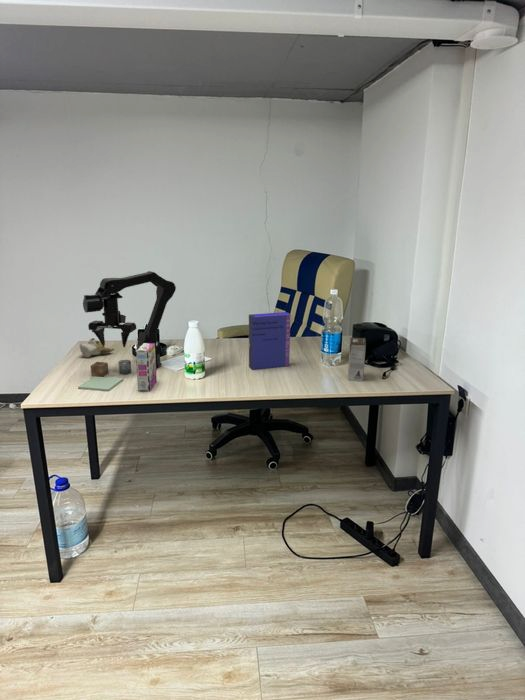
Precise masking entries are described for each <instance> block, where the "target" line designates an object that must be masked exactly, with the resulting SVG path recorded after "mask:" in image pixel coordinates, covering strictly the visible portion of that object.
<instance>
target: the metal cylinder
mask: <svg viewBox="0 0 525 700" xmlns="http://www.w3.org/2000/svg"><path fill="white" fill-rule="evenodd" d="M132 371H133V370H132V363H131V360H130V359H122V360H119V361H118V372H119V375H122V376H123V375H130V374H132Z"/></svg>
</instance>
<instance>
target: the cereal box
mask: <svg viewBox="0 0 525 700" xmlns="http://www.w3.org/2000/svg"><path fill="white" fill-rule="evenodd" d="M290 345H291V314H290V312H287V311H284V312H270V313H269V312H267V313H254V314H251V313H250V314H248V368H249V369H250V370H251V371H257V370H268V369H278V368H287V367H290V354H291V353H290V349H291V348H290Z"/></svg>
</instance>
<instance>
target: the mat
mask: <svg viewBox="0 0 525 700" xmlns="http://www.w3.org/2000/svg"><path fill="white" fill-rule="evenodd" d="M123 381H124V378H120V377H119V378H117V377H109V376H107V377H106V376H104V377H96V376H94V377H92V376H91V378H90V379H88V380H86V381H85V382H83V383H82V384H80V385H79V386H77V389H78V390H88V391H101V392H102V391H103V392H110V391H111V390H113V389H114V388H116V386H117V387H118V386H119V384H121V383H122V382H123Z"/></svg>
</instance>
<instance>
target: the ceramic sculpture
mask: <svg viewBox="0 0 525 700" xmlns="http://www.w3.org/2000/svg"><path fill="white" fill-rule="evenodd" d="M79 349H80V352H81V355H82V356H83V357H84V358H86V359H87V358H90V357H91V356H100V355H101V354H103V355H106V354H107V355H108V354H109V353H111V352H113V351H114V350H115V348H110V347H109V348H108V347H106V346H105V345H104V346H103V345H102V344H101V342H100V340H99V339H95V338H90V339H89V340H88V342H87V343H79Z"/></svg>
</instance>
